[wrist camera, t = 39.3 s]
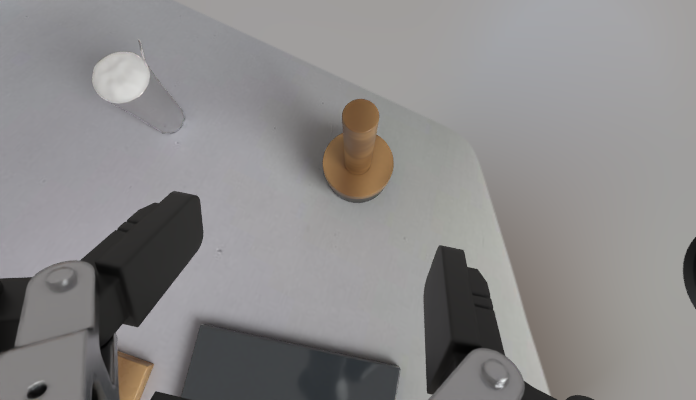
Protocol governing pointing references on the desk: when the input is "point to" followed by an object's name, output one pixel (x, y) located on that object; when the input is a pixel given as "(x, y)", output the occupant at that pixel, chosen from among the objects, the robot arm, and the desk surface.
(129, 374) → the chip
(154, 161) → the desk surface
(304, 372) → the tile
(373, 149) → the brush
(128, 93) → the milkshake
